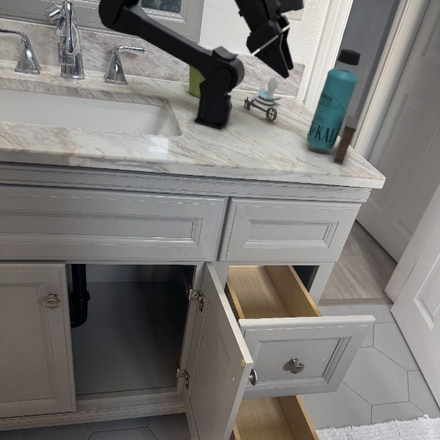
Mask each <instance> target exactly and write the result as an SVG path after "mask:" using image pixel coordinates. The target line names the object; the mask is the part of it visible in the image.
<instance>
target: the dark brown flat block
mask: <svg viewBox="0 0 440 440" xmlns="http://www.w3.org/2000/svg"><path fill="white" fill-rule="evenodd" d="M357 125H358V117H357V116H352V115H349V114H348V115H347V116H346V119H345V124H344V127H343V130H342V132H341V135H340V138H339V141H338V144H337V146H336V149H335V153H334V159H333V163H335V164H339V165H342V164H343V162H344V160H345V157H346V154H347V151H348V149H349V147H350V144H351V141H352V138H353V136H354V133H356V131H357Z"/></svg>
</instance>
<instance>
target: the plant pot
mask: <svg viewBox="0 0 440 440" xmlns="http://www.w3.org/2000/svg"><path fill="white" fill-rule="evenodd" d="M204 80H205V78H204V77H203V76H202V75H201V73H200V72H199V71H198V70H197V69H195V68H193V67H192V66H190V65H188V93H189V94H191V95H192V96H194V97H198V98H200V89H199V84H200V83H201V82H203V81H204Z"/></svg>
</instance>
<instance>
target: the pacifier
mask: <svg viewBox="0 0 440 440" xmlns="http://www.w3.org/2000/svg"><path fill="white" fill-rule="evenodd" d="M278 83H279V82H278V79H277V78H276V77H271V78H270V79H269V81H268V82H267V90H266V89H265V88H259V89H258V91H257V93H258V94H257V95H255V96H254V100H256V101H257V102H259V103H262V104H265V105H268V106H272V105H274V102H275V101H280V100H281V99H282V97H281V96H279V97H274V93H275V90H276V89H277V87H278Z"/></svg>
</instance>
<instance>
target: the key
mask: <svg viewBox="0 0 440 440" xmlns="http://www.w3.org/2000/svg"><path fill="white" fill-rule="evenodd" d="M243 102H244V105H243V108H244V109H246V110H247V111H250V110H251V108H253V109H254V108H255V109H258V110H259V111H261V112H264V113H265V117H266V118H265V119H266V120H267V121H269V122H275V121H276V120H277V118H278V111H277V109H276V107H273V106H269V107H268V108H266V109H265V108H264V107H262V106H260V105H258V104H256V103H255V99H253V98H251V99H250V100H249V96H246V98H244V100H243Z"/></svg>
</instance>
